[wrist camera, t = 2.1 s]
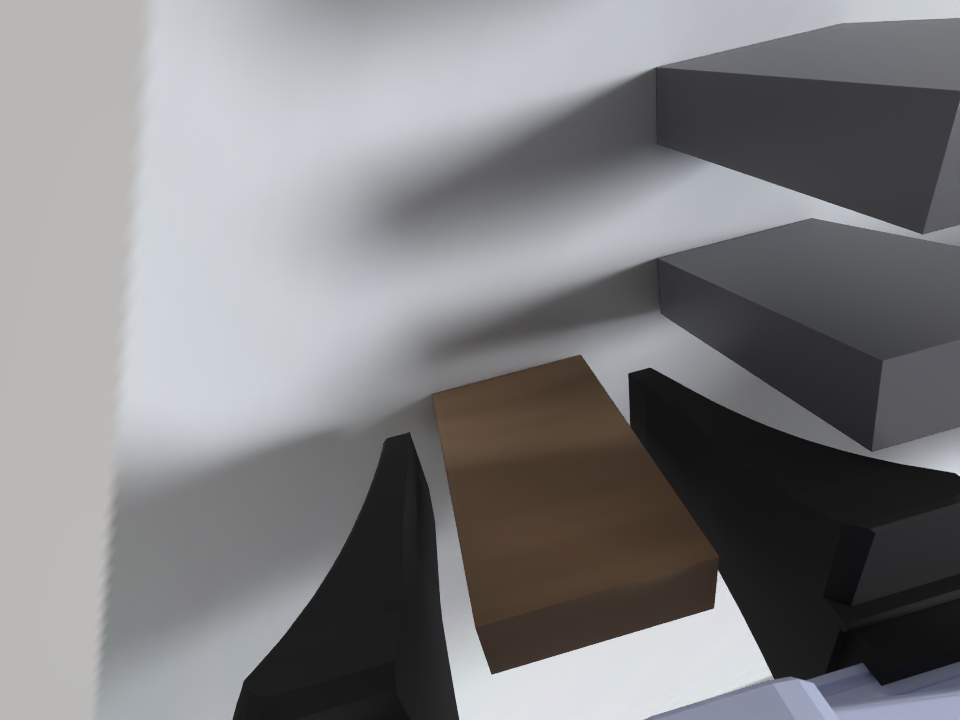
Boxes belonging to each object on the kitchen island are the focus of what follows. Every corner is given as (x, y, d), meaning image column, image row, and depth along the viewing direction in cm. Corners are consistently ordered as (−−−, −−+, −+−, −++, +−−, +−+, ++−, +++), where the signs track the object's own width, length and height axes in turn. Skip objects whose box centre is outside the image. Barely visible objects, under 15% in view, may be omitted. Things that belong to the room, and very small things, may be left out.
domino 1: (585, 398, 16) (713, 608, 10) (444, 436, 16) (491, 674, 10) (580, 354, 15) (719, 556, 9) (431, 394, 15) (475, 627, 9)
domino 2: (830, 101, 13) (1240, 150, 7) (656, 143, 12) (922, 235, 6) (843, 23, 12) (1324, 2, 6) (656, 67, 11) (962, 90, 6)
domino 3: (808, 275, 15) (1124, 379, 8) (661, 313, 15) (871, 451, 8) (811, 218, 14) (1157, 285, 8) (657, 258, 14) (882, 360, 8)
